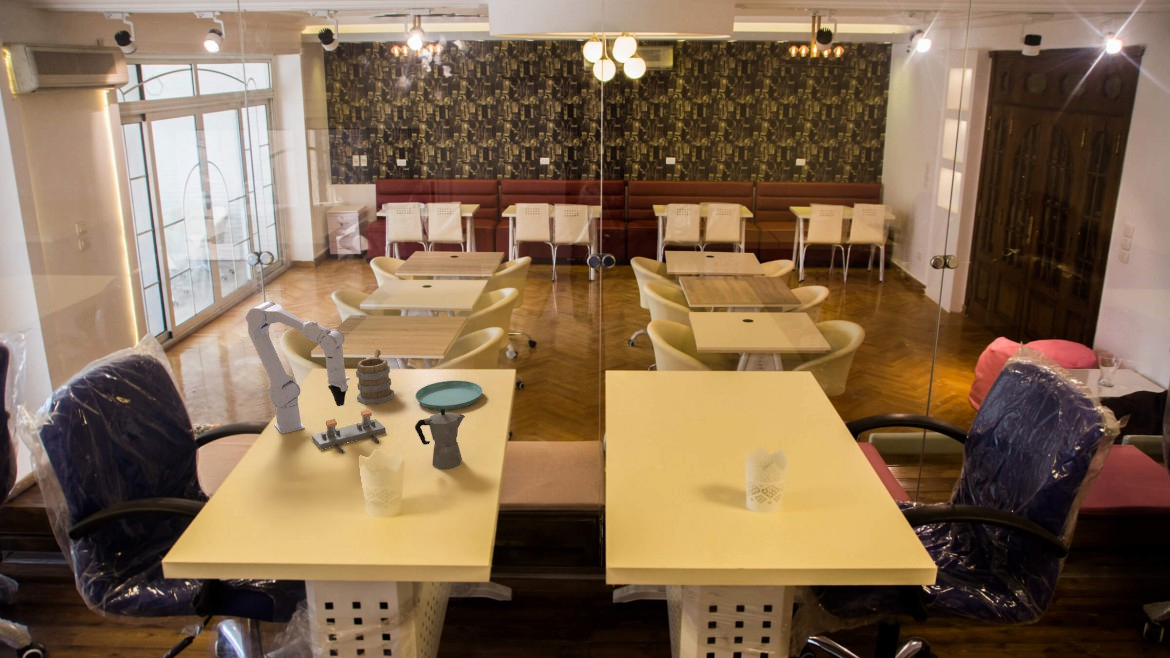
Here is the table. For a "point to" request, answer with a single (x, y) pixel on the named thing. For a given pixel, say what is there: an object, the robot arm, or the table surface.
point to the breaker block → (349, 435)
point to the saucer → (449, 395)
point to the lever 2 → (366, 418)
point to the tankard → (374, 380)
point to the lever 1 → (331, 427)
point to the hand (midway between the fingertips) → (340, 405)
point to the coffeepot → (443, 438)
